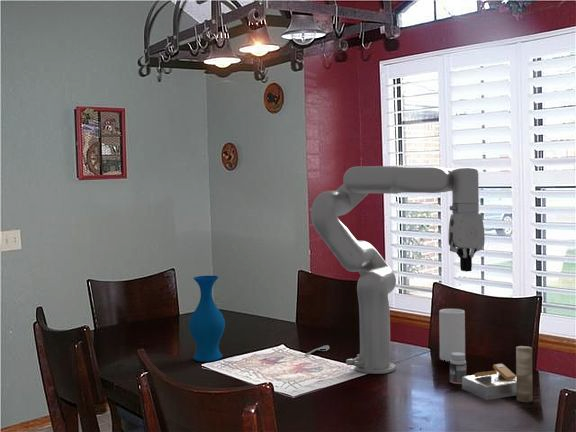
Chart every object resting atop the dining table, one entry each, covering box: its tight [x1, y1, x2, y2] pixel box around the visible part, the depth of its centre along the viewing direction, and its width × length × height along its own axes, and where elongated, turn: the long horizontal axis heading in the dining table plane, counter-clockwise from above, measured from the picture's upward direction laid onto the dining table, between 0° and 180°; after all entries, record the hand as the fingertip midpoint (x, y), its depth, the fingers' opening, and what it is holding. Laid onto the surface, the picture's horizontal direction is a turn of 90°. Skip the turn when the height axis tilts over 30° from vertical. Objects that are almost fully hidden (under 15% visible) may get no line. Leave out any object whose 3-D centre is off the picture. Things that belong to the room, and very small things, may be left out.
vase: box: [188, 275, 226, 363], centre depth 226 cm, size 12×13×28 cm
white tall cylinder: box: [438, 308, 466, 362], centre depth 220 cm, size 8×8×16 cm
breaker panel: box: [461, 372, 517, 401], centre depth 185 cm, size 14×11×4 cm
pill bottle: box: [449, 352, 467, 385], centre depth 194 cm, size 5×5×8 cm
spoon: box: [303, 344, 330, 357], centre depth 230 cm, size 4×21×2 cm, turn 141°
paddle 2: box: [492, 363, 516, 380], centre depth 186 cm, size 3×6×1 cm, turn 21°
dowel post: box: [515, 345, 534, 403], centre depth 177 cm, size 4×4×14 cm
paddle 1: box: [474, 369, 497, 377], centre depth 184 cm, size 3×6×1 cm, turn 21°
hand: (466, 270), depth 197 cm, fingers closed
